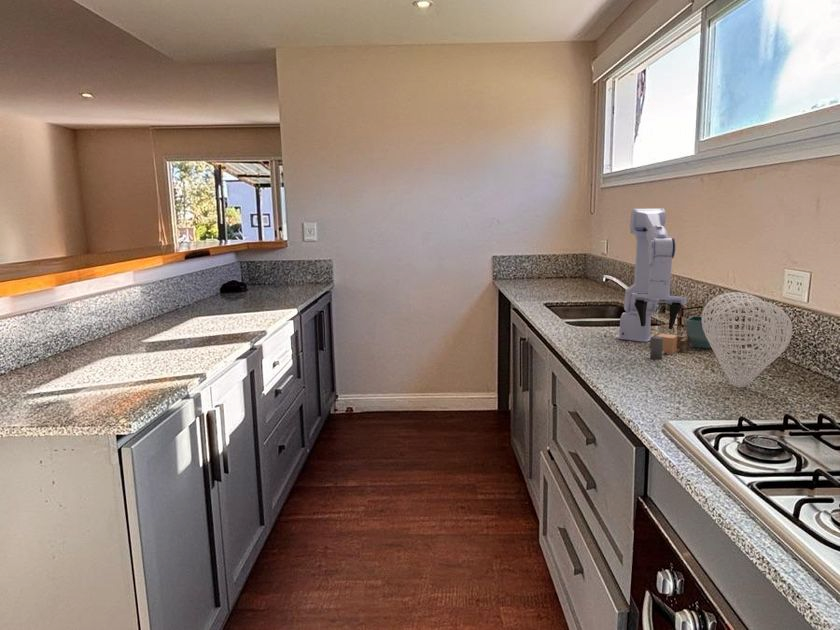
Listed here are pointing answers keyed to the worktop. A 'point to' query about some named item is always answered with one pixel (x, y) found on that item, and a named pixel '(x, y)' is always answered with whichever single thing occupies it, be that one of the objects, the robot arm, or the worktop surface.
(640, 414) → the worktop surface
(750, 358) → the heart
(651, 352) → the tethered block
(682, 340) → the lane
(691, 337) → the flower pot
